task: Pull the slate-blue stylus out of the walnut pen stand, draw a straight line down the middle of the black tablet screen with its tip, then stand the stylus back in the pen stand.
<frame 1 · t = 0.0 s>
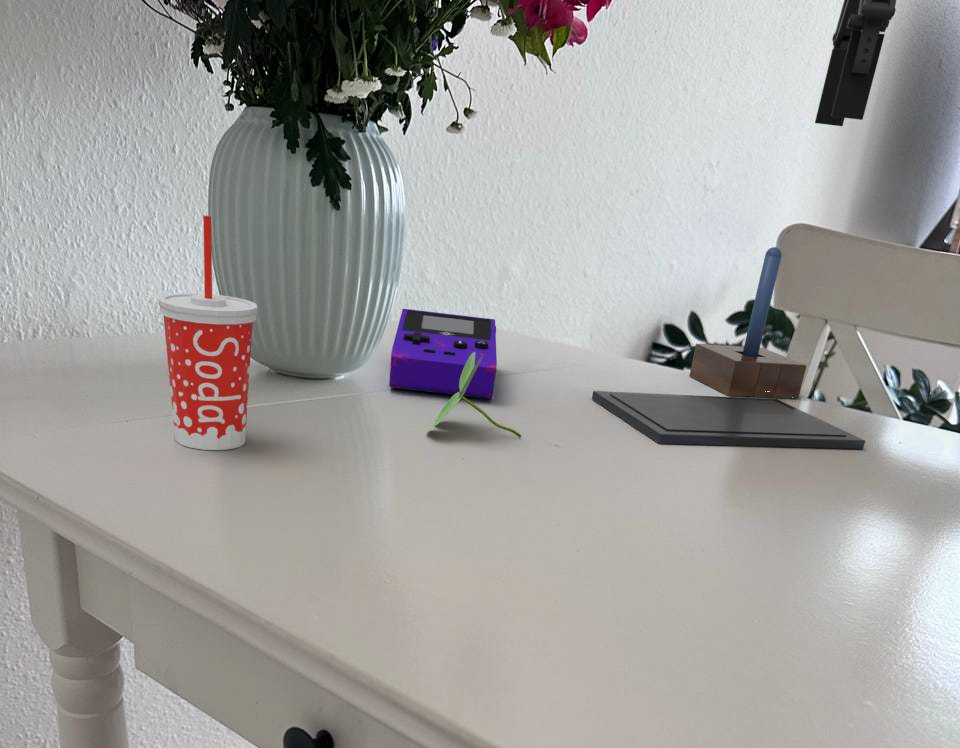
hand: (836, 122, 92), 25 cm above the table, tool pointing down, fingers open, 13 cm apart
beverage cup: (210, 442, 65), on the table
stylus: (758, 319, 99), in the pen stand
seedling: (465, 437, 74), on the table
pen stand: (742, 387, 103), on the table
tablet: (723, 423, 87), on the table
handheld gaming console: (442, 382, 90), on the table
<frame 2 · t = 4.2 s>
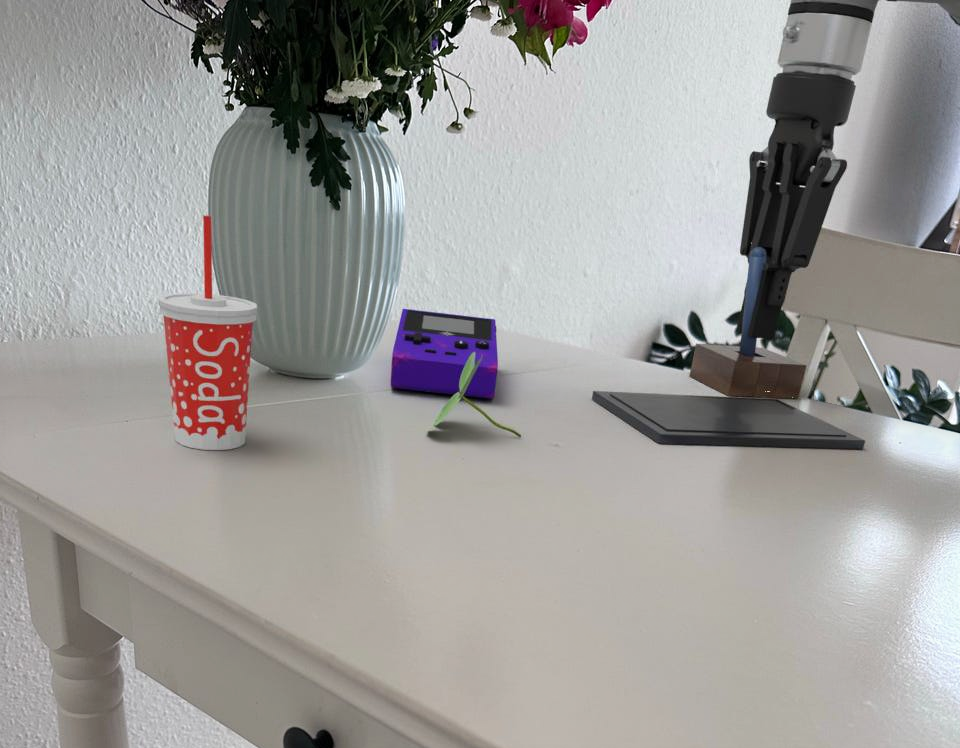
hand: (754, 334, 100), 5 cm above the table, tool pointing down, fingers closed on stylus, 1 cm apart
stylus: (750, 319, 99), in the pen stand, tilted 8°, touching gripper
everything else where it was.
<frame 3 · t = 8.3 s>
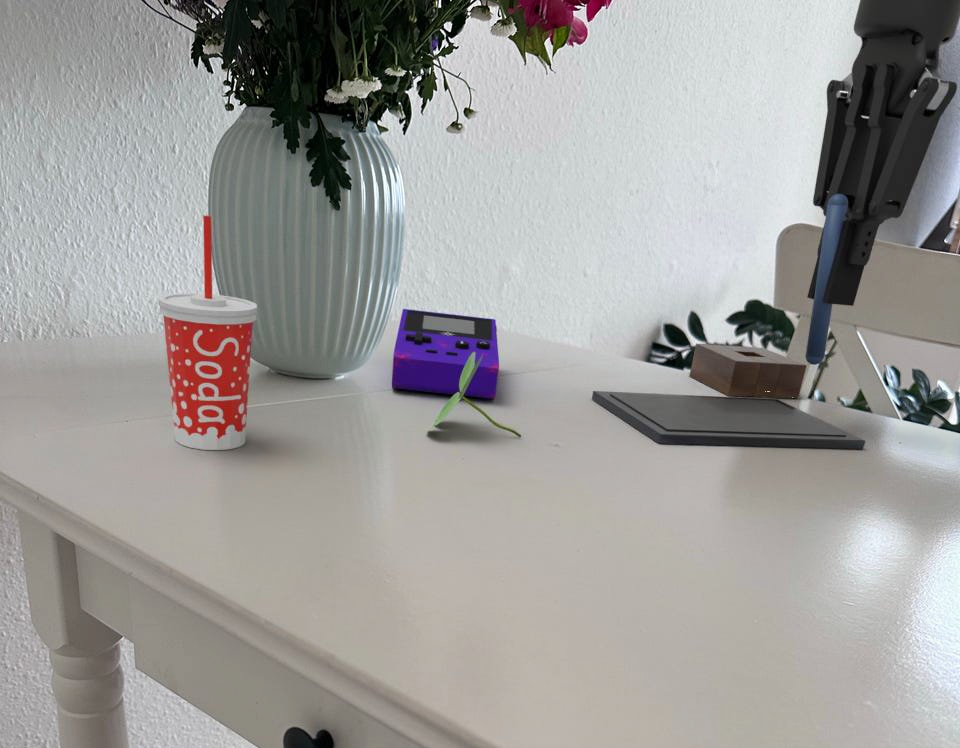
hand: (830, 301, 84), 11 cm above the table, tool pointing down, fingers closed on stylus, 1 cm apart
stylus: (826, 282, 83), point 13 cm above the table, tilted 8°, touching gripper
everything else where it was.
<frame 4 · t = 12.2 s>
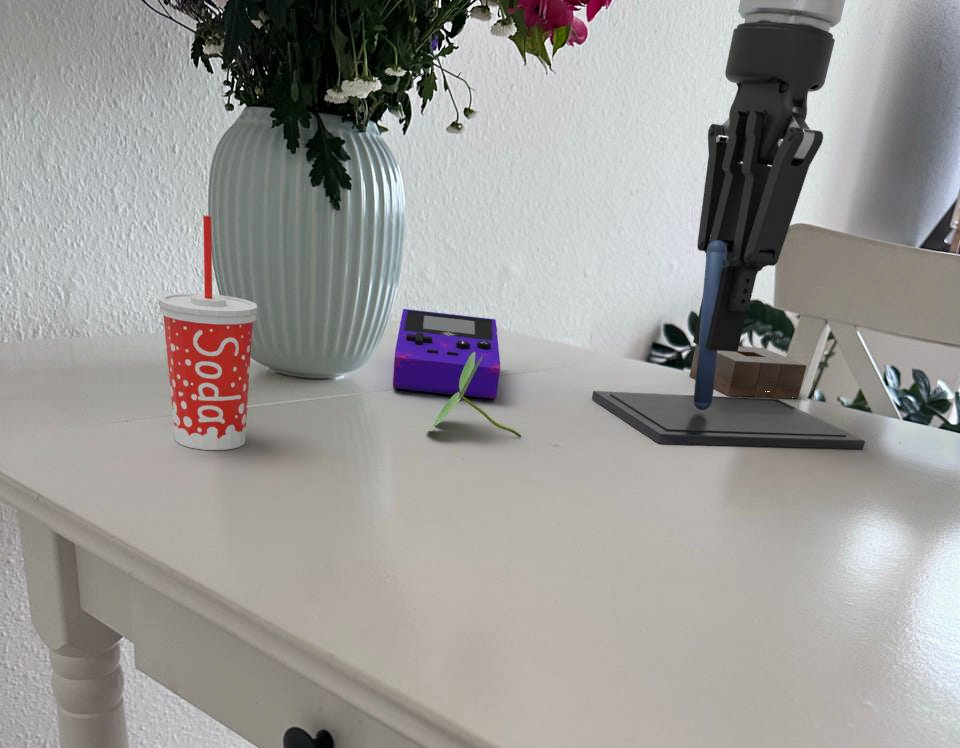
hand: (715, 346, 83), 7 cm above the table, tool pointing down, fingers closed on stylus, 1 cm apart
stylus: (709, 328, 82), point 8 cm above the table, tilted 8°, touching gripper
everything else where it was.
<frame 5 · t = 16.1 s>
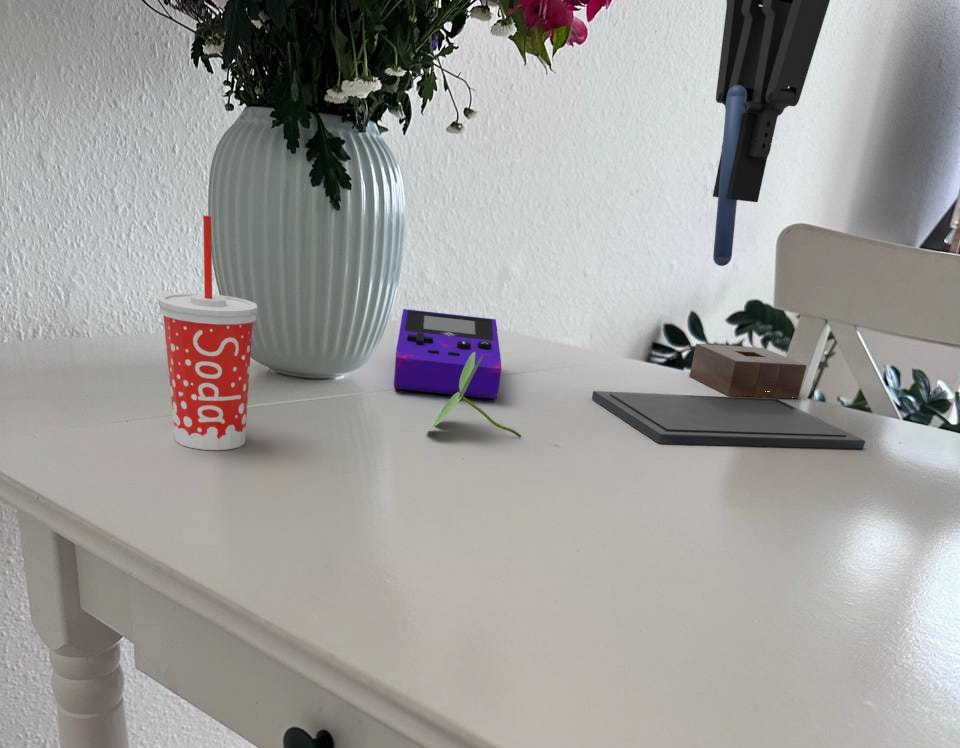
hand: (734, 198, 83), 18 cm above the table, tool pointing down, fingers closed on stylus, 1 cm apart
stylus: (729, 179, 82), point 20 cm above the table, tilted 8°, touching gripper
everything else where it was.
when the fingers open (6 cm above the table, at t = 20.0 s): stylus stays where it is, resting on pen stand.
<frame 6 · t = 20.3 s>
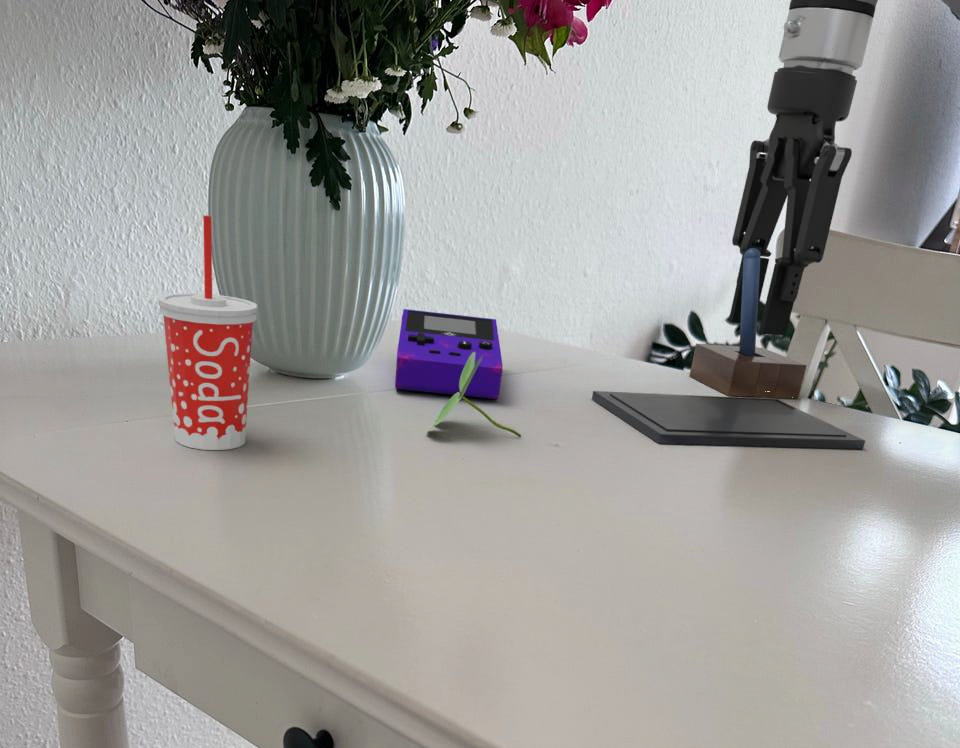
hand: (756, 327, 100), 6 cm above the table, tool pointing down, fingers open, 5 cm apart
stylus: (748, 320, 99), in the pen stand, tilted 12°
everything else where it was.
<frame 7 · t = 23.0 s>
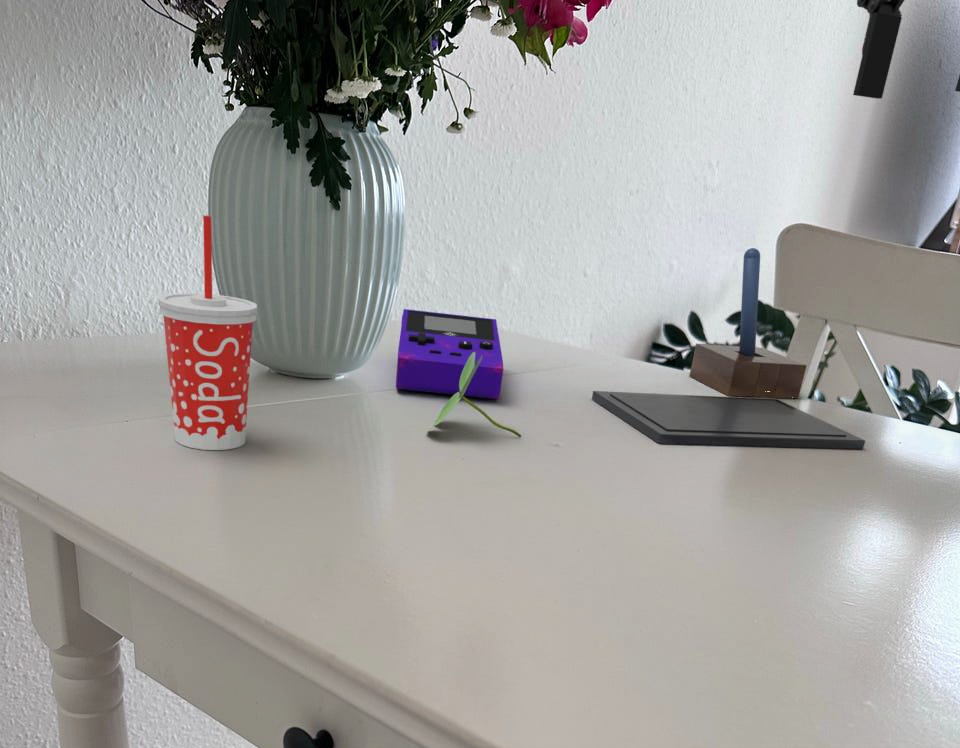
hand: (915, 95, 85), 28 cm above the table, tool pointing down, fingers open, 13 cm apart
nothing on the table moved.
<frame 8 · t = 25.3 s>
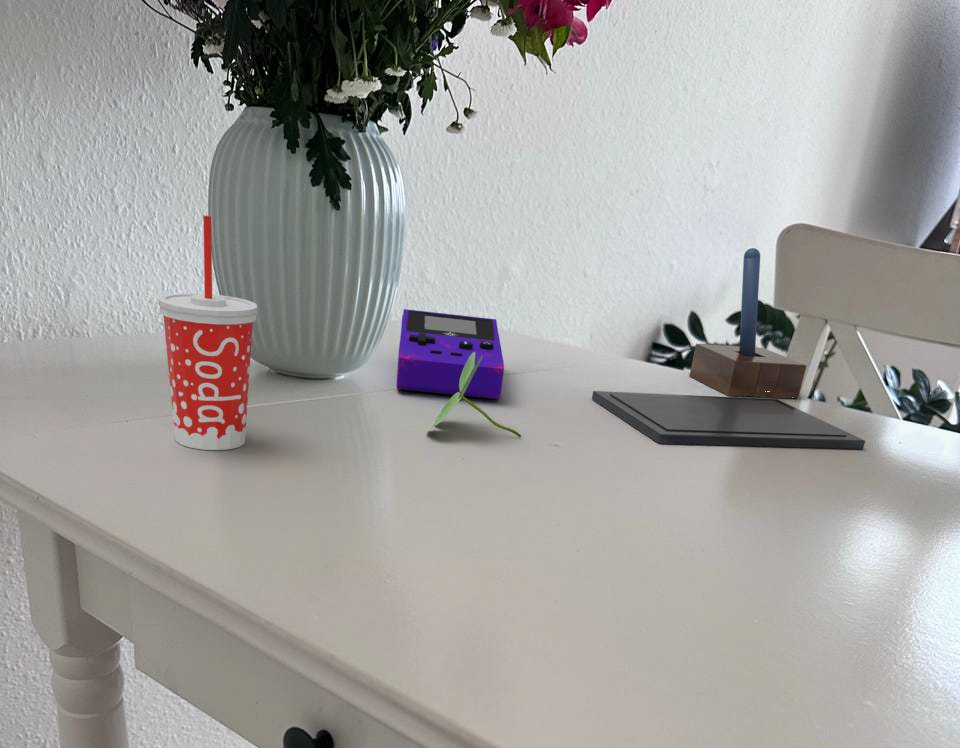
nothing on the table moved.
at the end: stylus 0.4 cm off-centre in the pen stand, point 6.8 cm above the pen stand's base; stylus tilted 12°; the gripper is holding nothing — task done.
